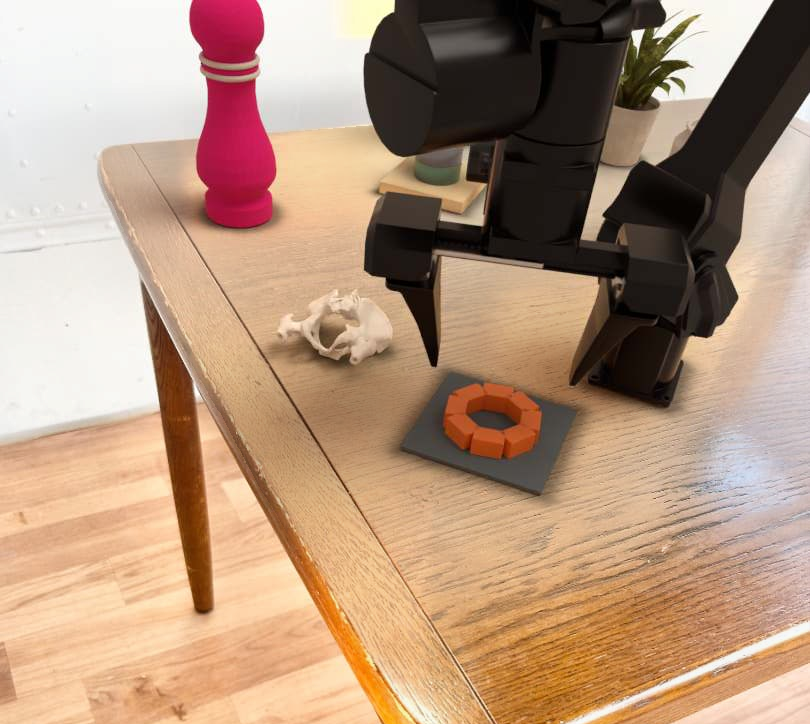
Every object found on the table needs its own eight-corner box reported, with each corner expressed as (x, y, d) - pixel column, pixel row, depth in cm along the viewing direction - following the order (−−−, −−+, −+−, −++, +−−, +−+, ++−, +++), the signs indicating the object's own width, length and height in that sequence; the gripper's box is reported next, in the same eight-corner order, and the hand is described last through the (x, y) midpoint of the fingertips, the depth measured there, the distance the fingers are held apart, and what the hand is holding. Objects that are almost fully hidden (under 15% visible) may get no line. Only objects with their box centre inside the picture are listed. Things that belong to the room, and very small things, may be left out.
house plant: (537, 169, 91) (571, -2, 79) (549, 126, 100) (581, -32, 88) (665, 191, 89) (719, 20, 78) (665, 145, 99) (713, -13, 87)
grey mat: (540, 495, 53) (541, 492, 53) (400, 449, 55) (400, 445, 55) (576, 412, 60) (577, 409, 60) (450, 374, 62) (450, 370, 62)
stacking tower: (461, 214, 81) (473, 124, 75) (379, 193, 83) (384, 103, 77) (489, 182, 87) (502, 96, 81) (411, 163, 89) (419, 77, 83)
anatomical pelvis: (267, 310, 59) (311, 265, 63) (272, 357, 62) (314, 311, 66) (365, 341, 57) (405, 293, 61) (365, 388, 60) (403, 339, 64)
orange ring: (533, 466, 55) (537, 450, 54) (437, 448, 55) (439, 431, 54) (540, 408, 59) (544, 393, 58) (451, 392, 60) (454, 376, 59)
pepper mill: (185, 209, 77) (155, -45, 63) (245, 190, 81) (230, -54, 66) (234, 238, 74) (214, -23, 59) (293, 216, 78) (289, -33, 63)
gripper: (708, 97, 48) (633, 328, 59) (396, 57, 49) (381, 293, 60) (739, 171, 40) (646, 420, 52) (369, 123, 41) (357, 380, 52)
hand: (503, 373), depth 54 cm, fingers open, 9 cm apart
